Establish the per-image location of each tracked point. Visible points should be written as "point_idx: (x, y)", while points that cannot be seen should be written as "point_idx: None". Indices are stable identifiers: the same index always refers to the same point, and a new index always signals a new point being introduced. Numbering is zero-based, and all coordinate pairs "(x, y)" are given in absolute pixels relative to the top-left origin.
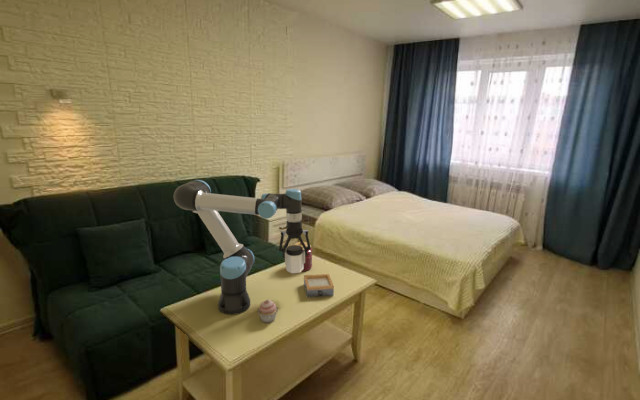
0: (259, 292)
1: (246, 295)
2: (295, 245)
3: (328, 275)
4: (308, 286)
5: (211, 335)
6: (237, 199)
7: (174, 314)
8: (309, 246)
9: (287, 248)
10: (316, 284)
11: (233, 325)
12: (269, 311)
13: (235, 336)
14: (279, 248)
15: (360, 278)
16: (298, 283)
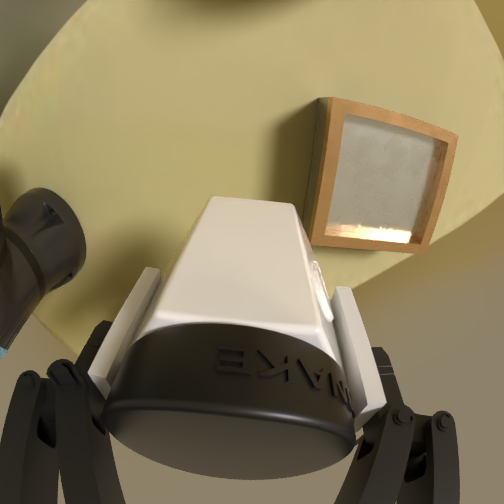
0: (98, 149)
1: (56, 272)
2: (261, 426)
3: (452, 149)
4: (321, 235)
5: (58, 327)
6: None
7: None
8: (414, 467)
9: (123, 441)
10: (371, 196)
11: (80, 313)
12: None
13: None
14: (44, 425)
15: None
16: (291, 80)
